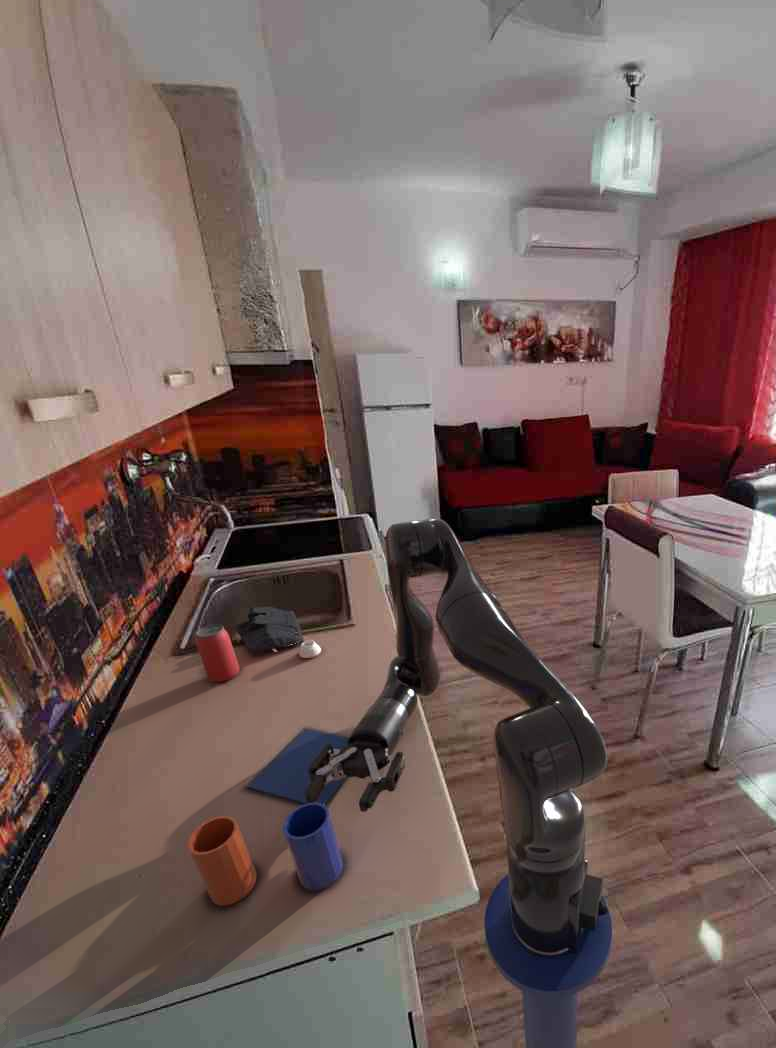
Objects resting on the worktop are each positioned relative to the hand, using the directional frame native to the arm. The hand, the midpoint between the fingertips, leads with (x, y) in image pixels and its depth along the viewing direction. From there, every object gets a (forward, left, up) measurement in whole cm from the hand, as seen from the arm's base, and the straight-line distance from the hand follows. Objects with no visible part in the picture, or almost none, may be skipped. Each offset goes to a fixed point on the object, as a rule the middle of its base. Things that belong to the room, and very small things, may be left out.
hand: (335, 804), depth 75 cm
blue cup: (-1, +6, -6) cm, 9 cm away
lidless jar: (+39, -41, -6) cm, 57 cm away
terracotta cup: (+10, +12, -6) cm, 16 cm away
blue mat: (+14, -10, -6) cm, 18 cm away
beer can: (+53, -28, -6) cm, 60 cm away
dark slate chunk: (+56, -46, -6) cm, 73 cm away
